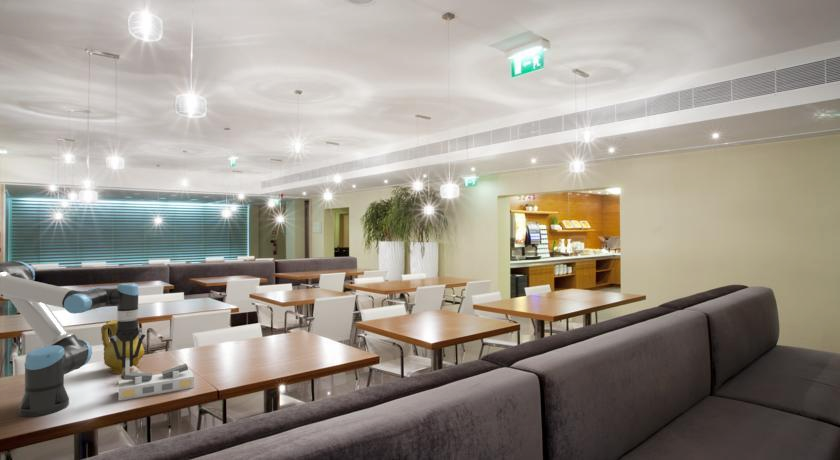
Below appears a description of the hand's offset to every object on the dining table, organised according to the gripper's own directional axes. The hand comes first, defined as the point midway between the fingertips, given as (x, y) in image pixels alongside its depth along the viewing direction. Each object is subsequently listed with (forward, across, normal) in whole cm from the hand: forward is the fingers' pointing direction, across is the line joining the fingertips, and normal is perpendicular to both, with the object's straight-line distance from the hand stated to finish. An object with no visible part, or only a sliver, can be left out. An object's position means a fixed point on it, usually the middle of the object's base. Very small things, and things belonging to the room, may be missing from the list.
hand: (127, 374), depth 187 cm
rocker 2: (+2, +18, 0) cm, 18 cm away
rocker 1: (+2, +4, 0) cm, 4 cm away
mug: (+9, +3, +20) cm, 22 cm away
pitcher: (+9, -1, +42) cm, 43 cm away
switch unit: (+9, +11, 0) cm, 14 cm away
